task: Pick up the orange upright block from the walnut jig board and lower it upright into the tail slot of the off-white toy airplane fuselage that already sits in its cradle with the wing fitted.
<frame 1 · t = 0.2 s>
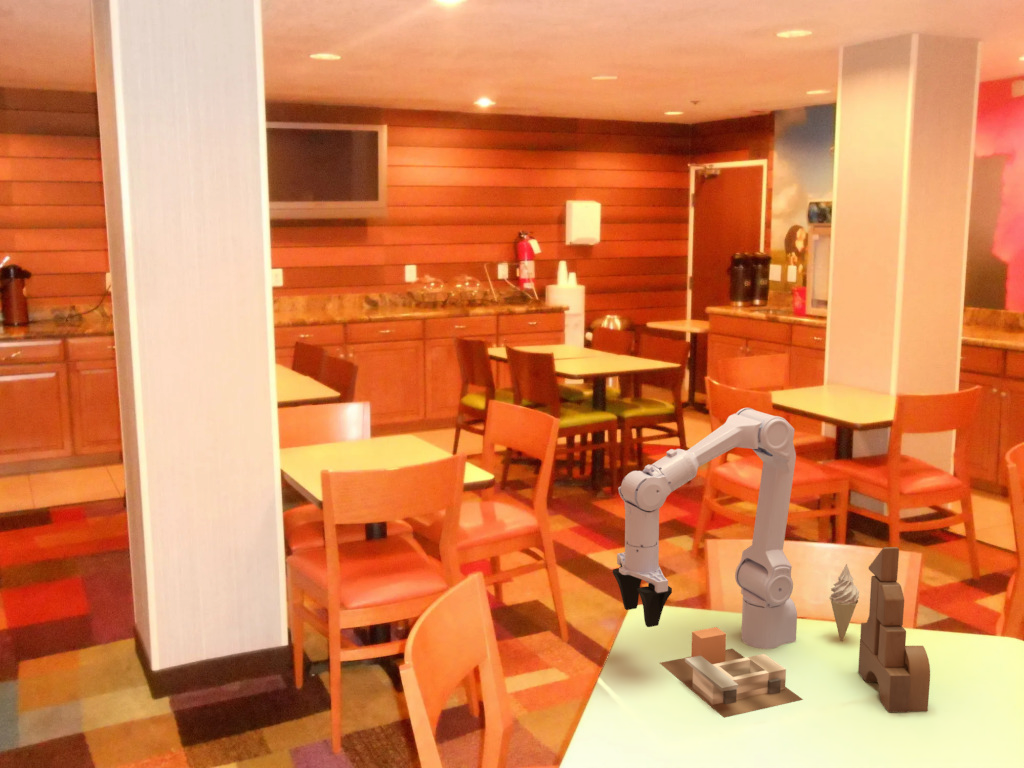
hand: (641, 616, 164), 10 cm above the table, tool pointing down, fingers open, 7 cm apart
orange upright block: (708, 662, 167), point 1 cm above the table, touching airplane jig
wooden toy: (890, 690, 159), on the table
ice cream cone: (841, 641, 178), on the table
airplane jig: (728, 685, 161), on the table
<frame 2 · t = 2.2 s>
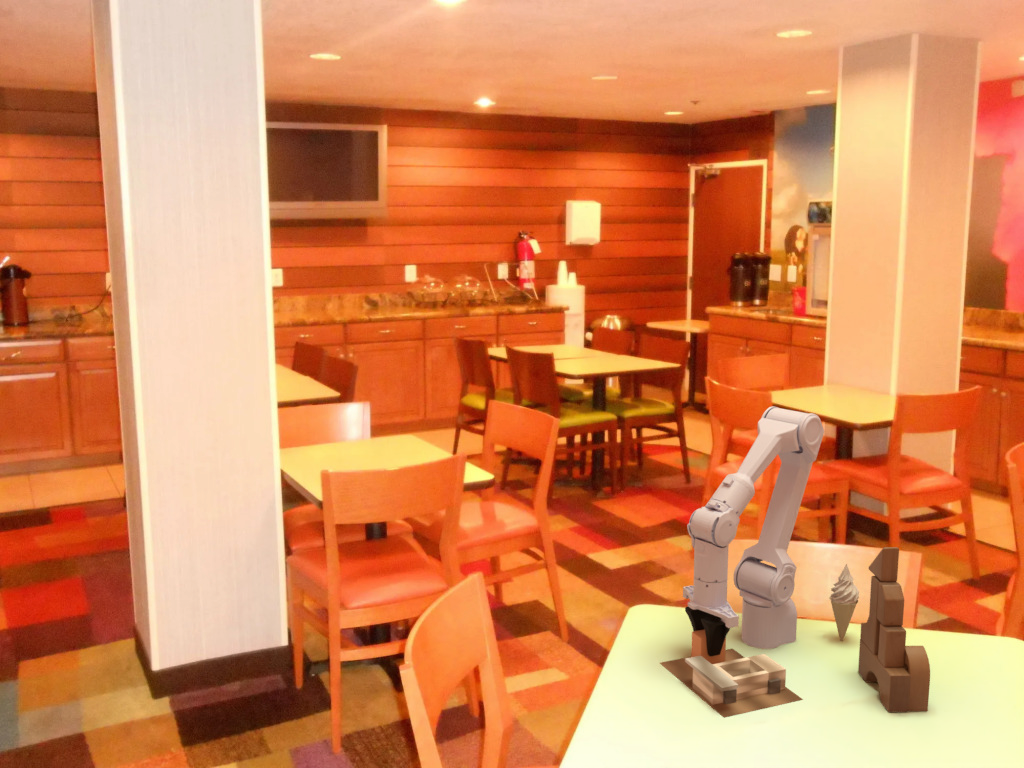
hand: (708, 650, 167), 3 cm above the table, tool pointing down, fingers closed on orange upright block, 3 cm apart
orange upright block: (708, 662, 167), point 1 cm above the table, touching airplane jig, gripper
everything else where it was.
when the fingers open (6 cm above the table, at t = 5.3 s): orange upright block stays where it is, resting on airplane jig.
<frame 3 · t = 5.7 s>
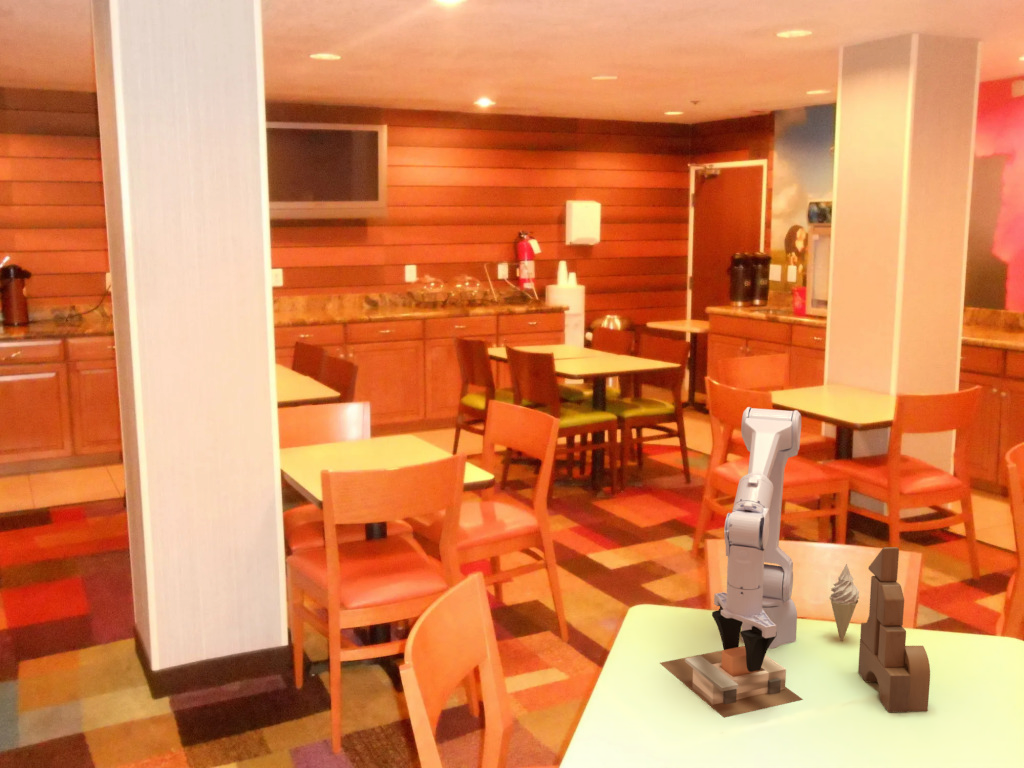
hand: (742, 661, 157), 6 cm above the table, tool pointing down, fingers open, 6 cm apart
orange upright block: (739, 682, 158), point 2 cm above the table, touching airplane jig
everything else where it was.
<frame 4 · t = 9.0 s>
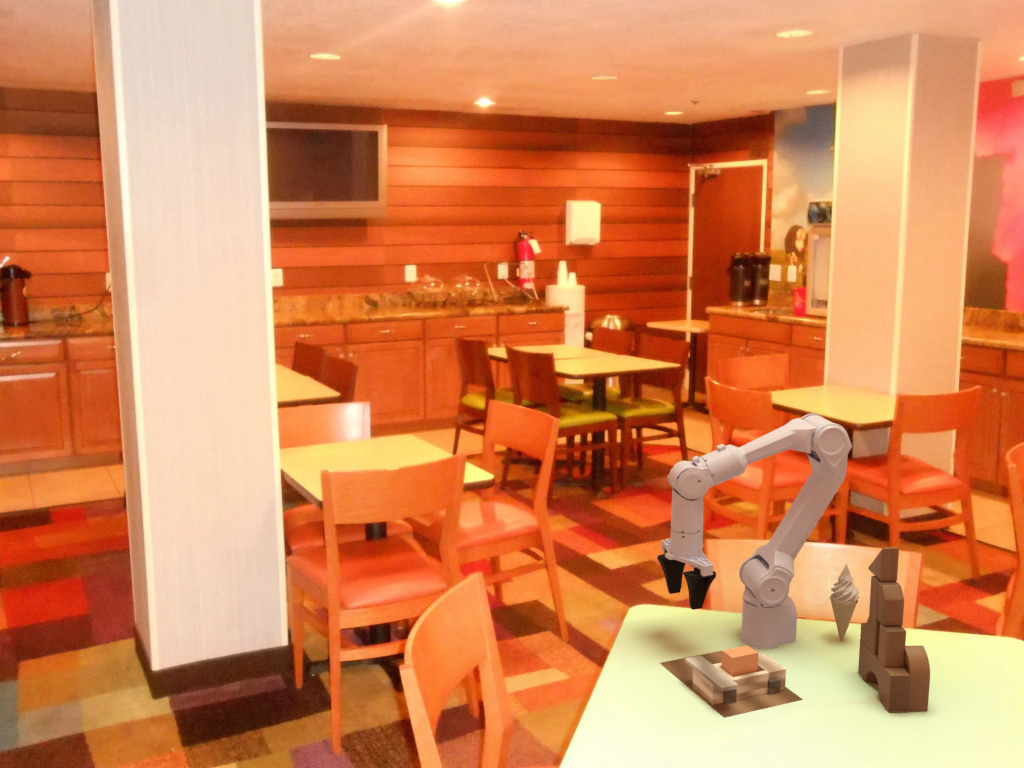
hand: (685, 600, 173), 9 cm above the table, tool pointing down, fingers open, 7 cm apart
nothing on the table moved.
at the end: orange upright block 0.5 cm from the target spot on the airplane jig, point 2.0 cm above the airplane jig's base; orange upright block tilted 0°; the gripper is holding nothing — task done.
